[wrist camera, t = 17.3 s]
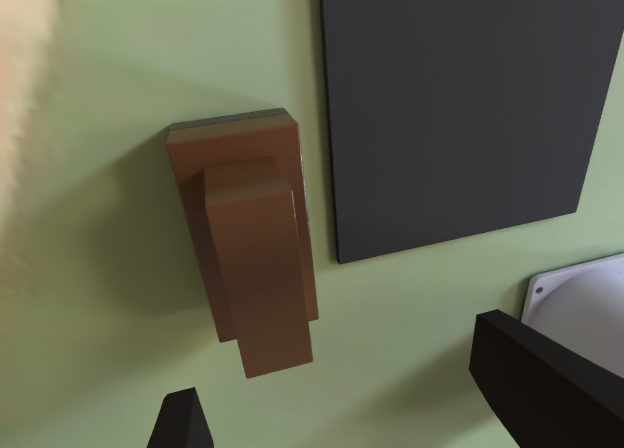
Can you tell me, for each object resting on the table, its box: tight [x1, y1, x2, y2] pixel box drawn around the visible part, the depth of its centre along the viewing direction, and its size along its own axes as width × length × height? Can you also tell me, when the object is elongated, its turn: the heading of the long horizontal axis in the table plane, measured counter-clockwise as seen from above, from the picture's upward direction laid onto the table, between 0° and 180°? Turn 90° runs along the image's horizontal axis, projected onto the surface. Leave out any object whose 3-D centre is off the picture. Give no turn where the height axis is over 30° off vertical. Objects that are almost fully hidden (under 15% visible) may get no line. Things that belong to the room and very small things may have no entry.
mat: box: [320, 0, 624, 264], centre depth 17 cm, size 18×14×1 cm
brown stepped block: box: [166, 108, 319, 379], centre depth 16 cm, size 9×4×6 cm, turn 5°
